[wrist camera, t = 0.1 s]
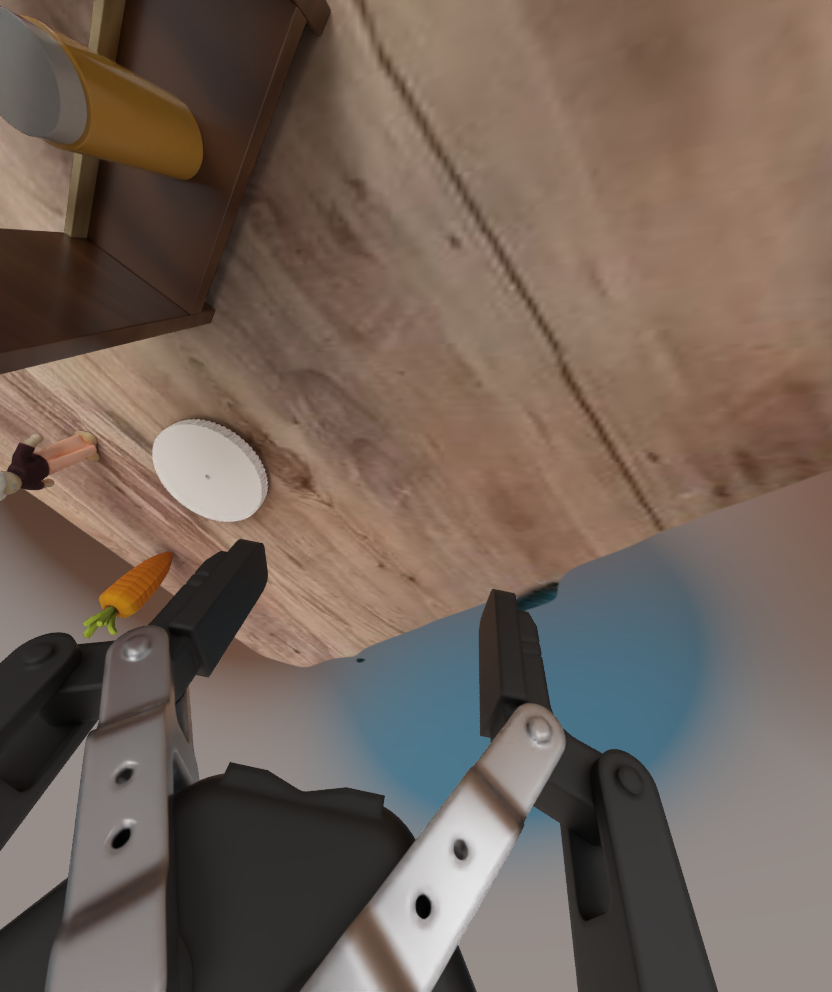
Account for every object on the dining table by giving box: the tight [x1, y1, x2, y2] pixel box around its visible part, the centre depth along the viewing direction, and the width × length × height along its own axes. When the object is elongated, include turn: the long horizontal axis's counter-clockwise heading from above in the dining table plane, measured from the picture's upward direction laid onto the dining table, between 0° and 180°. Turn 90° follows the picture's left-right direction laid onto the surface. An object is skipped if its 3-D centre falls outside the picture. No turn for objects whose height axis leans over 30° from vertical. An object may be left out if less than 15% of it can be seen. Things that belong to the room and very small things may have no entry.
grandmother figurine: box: [0, 430, 99, 501], centre depth 43 cm, size 8×4×13 cm, turn 169°
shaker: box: [0, 6, 203, 180], centre depth 22 cm, size 5×5×11 cm
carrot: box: [83, 552, 173, 638], centre depth 52 cm, size 5×5×15 cm
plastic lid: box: [152, 419, 268, 522], centre depth 46 cm, size 14×14×2 cm
